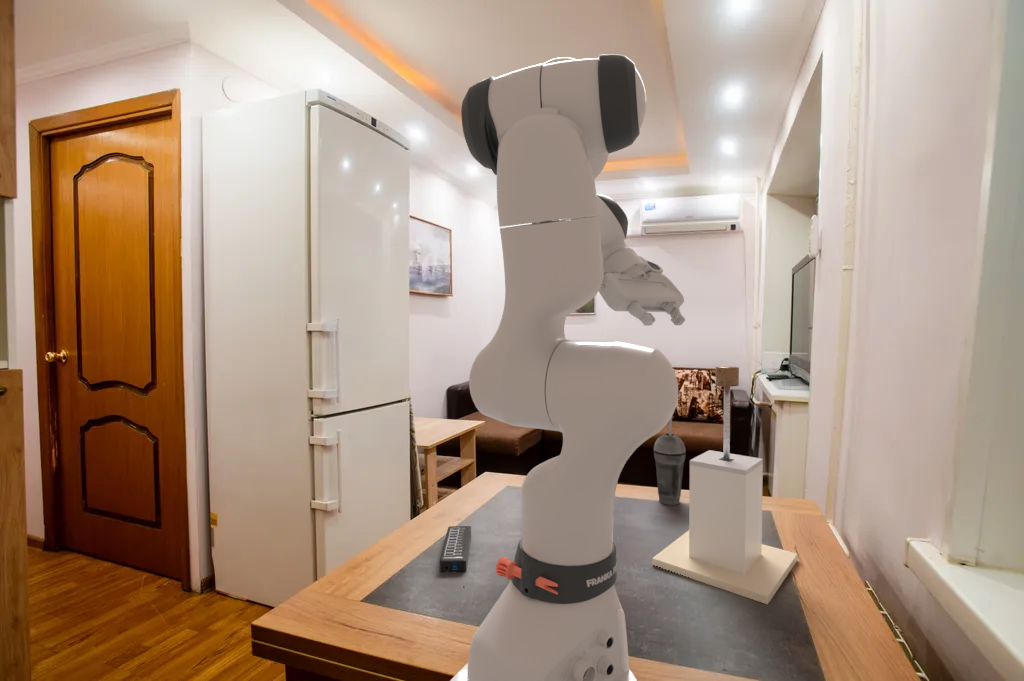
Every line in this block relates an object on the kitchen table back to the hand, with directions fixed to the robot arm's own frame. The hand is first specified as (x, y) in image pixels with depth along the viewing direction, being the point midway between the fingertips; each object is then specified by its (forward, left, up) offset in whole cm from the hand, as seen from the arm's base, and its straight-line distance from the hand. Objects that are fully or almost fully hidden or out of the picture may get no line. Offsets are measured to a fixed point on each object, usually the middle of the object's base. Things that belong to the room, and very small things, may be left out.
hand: (666, 323), depth 93 cm
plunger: (-2, -12, -26) cm, 28 cm away
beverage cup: (+20, +8, -41) cm, 46 cm away
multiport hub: (-30, +26, -42) cm, 57 cm away
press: (-2, -12, -41) cm, 43 cm away
